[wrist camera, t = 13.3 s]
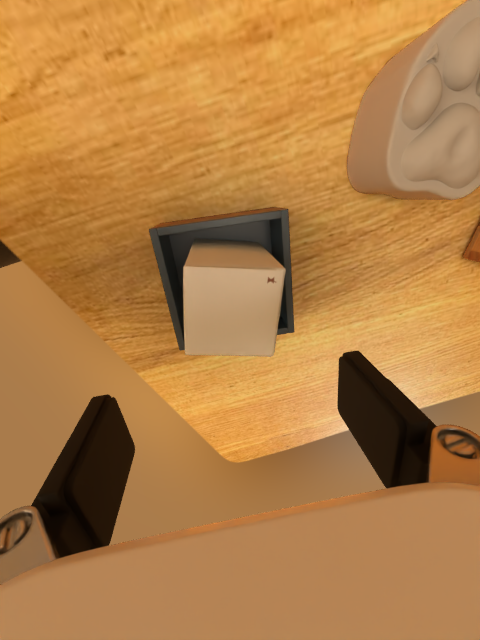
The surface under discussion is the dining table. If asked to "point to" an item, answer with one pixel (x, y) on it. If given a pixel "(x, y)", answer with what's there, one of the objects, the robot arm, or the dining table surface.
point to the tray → (474, 247)
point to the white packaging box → (231, 298)
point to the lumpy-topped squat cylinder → (423, 116)
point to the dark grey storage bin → (240, 226)
